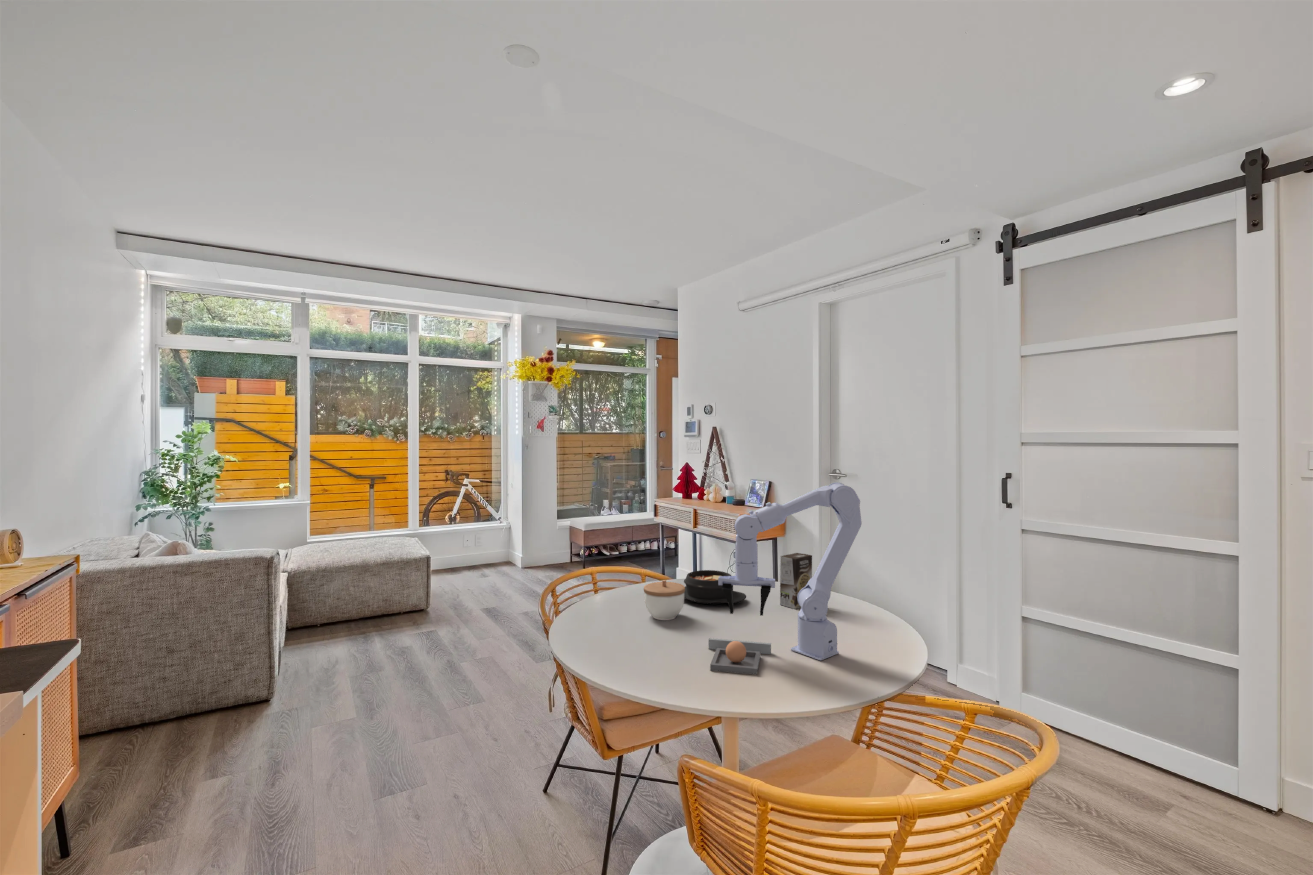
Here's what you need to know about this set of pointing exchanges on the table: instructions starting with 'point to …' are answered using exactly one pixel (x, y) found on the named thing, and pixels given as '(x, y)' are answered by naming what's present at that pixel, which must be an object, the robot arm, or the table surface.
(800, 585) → the coffee box
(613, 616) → the table surface
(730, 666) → the coaster
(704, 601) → the casserole
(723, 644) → the divider
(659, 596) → the lidded bowl
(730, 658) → the ball
